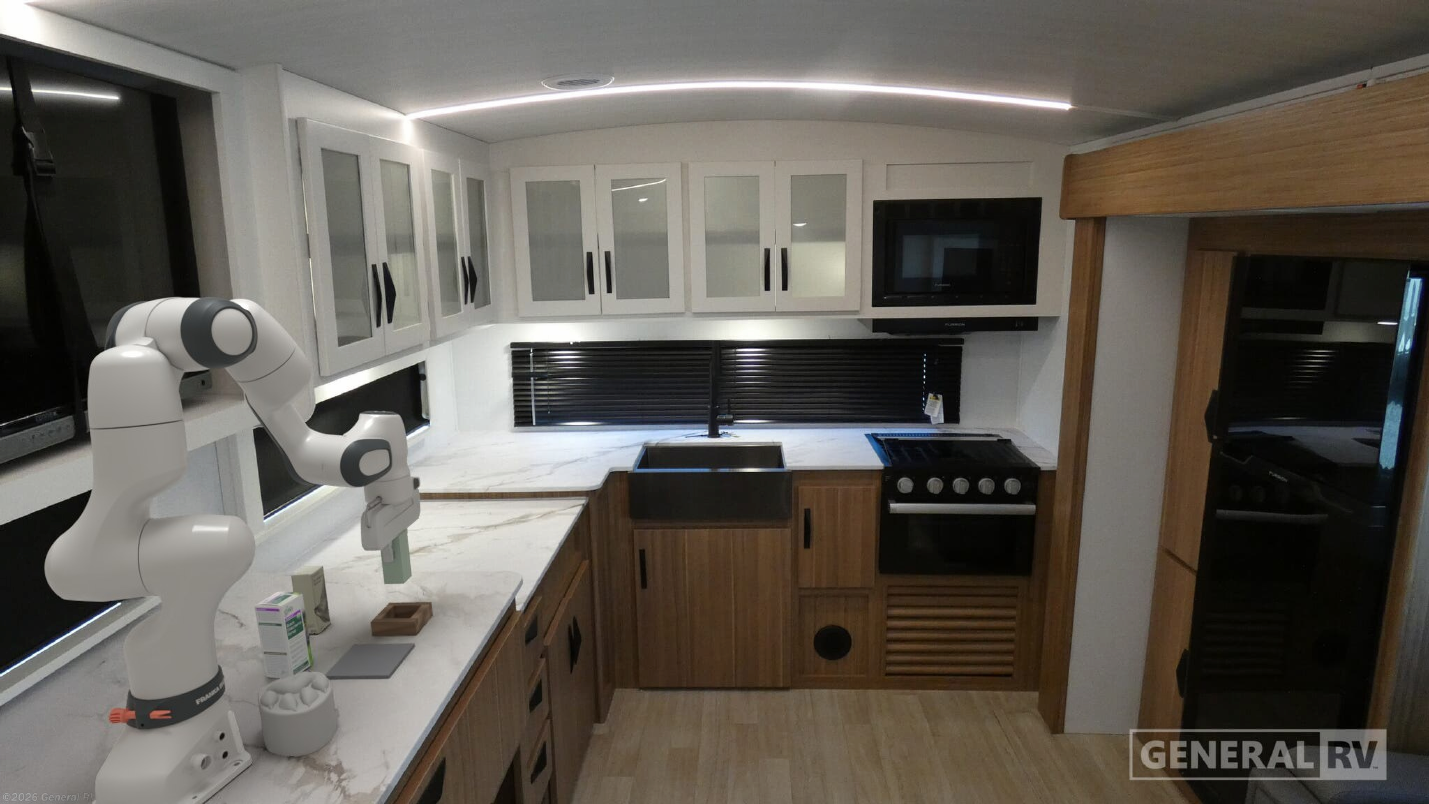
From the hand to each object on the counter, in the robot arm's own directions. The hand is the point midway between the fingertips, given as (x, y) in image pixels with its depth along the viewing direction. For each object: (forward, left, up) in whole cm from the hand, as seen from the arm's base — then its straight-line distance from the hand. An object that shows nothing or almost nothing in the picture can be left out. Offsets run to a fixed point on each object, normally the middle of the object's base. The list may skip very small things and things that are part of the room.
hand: (395, 555), depth 167 cm
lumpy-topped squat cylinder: (-38, +1, -16) cm, 41 cm away
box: (-1, +18, -15) cm, 24 cm away
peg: (0, 0, -5) cm, 5 cm away
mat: (-15, 0, -15) cm, 21 cm away
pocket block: (0, 0, -15) cm, 15 cm away
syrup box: (-18, +14, -15) cm, 27 cm away
